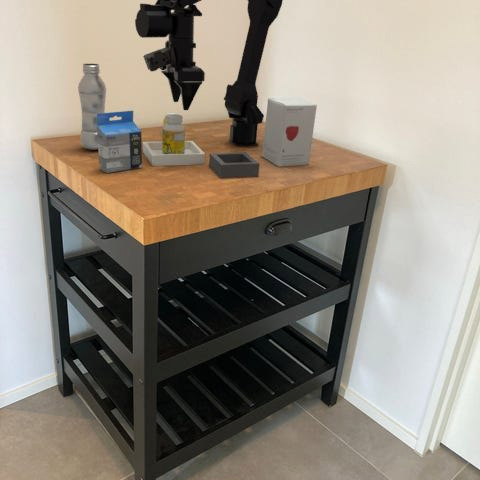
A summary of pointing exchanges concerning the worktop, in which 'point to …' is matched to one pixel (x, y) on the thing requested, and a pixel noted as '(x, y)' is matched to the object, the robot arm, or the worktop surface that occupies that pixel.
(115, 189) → the worktop surface
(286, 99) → the supplement box
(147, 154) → the tray
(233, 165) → the socket collar
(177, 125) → the supplement bottle
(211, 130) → the worktop surface
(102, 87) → the plastic bottle
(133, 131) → the label tape box
